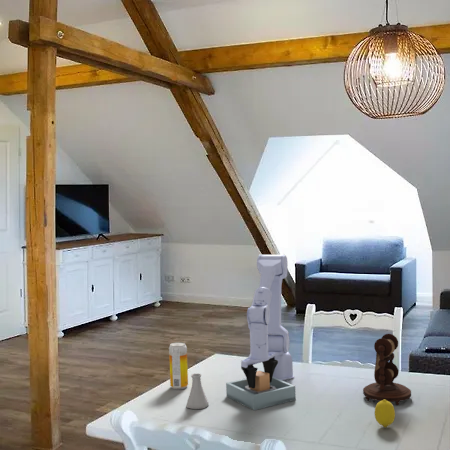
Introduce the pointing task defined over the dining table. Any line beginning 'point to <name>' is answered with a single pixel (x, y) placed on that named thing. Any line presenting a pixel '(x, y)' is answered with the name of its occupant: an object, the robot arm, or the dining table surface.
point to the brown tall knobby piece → (386, 373)
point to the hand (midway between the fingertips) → (260, 384)
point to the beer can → (178, 365)
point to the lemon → (384, 413)
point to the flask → (197, 394)
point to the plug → (262, 381)
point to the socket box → (260, 393)
